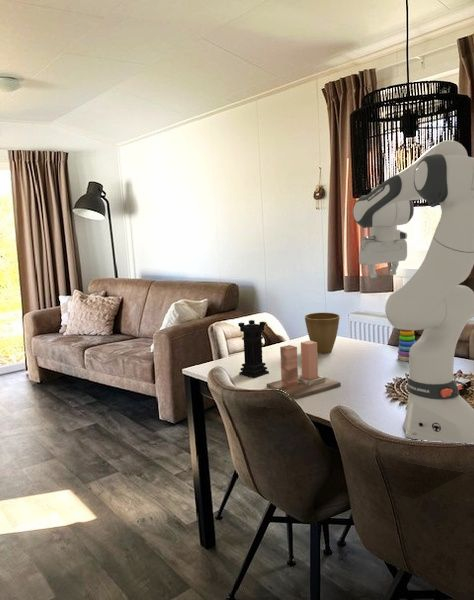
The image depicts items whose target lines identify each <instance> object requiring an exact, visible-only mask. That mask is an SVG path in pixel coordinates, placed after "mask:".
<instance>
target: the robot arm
mask: <svg viewBox="0 0 474 600" xmlns="http://www.w3.org/2000/svg"><path fill="white" fill-rule="evenodd" d="M416 200H417V201H418V200H421V201H422V200H425V201H426V202H427V204H428V206H429V207H431V208H435V207H437V206H438V205H439V206H440V210H441V215H440V218H439V221H438V223H437V226H436V228H435V230H434V233H433V236H432V239H431V242H430V244H429V246H428V249H427V252H426V254H425V257H424V259H423V261H422V263H421V264H420V266H419V267H418V269H417V270H416V272H415V273H414V274H413V275H412V276H411V278H410V279H409V280H408V281H407V282H406V283H405V284H404V285H403V286H402V287H400V288H399V289H398V290H396V291H395V292H393V293H391V294H390V295H389V296H388V298H387V300H386V303H385V305H384V306H385V307H384V308H385V316H386V318H387V319H386V320H388V322H389V324H390V325H391V326H392V327H393V328H395V329H396V330H401V329H402V330H413V331H420V330H423V332H422V334H421V336H419V338H418V339H417V340H415V341H416V342H415V343H414V344H413V345H412V347H411V348H410V352H409V361H408V364H409V365H408V370H409V373H408V374H409V375H408V376H407V383H406V384H407V387H406V390H407V392H408V397H407V399H408V400H407V407H406V412H405V417H404V421H403V423H402V428H403V430H404V431H405V437H406V438H409V439H413V440H415V439H418V440H417V441H419V440H427V441H441V442H459V443H473V444H474V408H473V406H471V404H470V403H468V402H467V401H466V399H464V398H463V396H461V395H460V390H462V389H463V386H464V385H463V384H459V385H457V383H456V379H455V378H454V365H455V364H454V363H455V352H456V348H457V344H458V342H459V339H460V337H461V334H462V332H463V330H464V328H465V326H466V325H467V324H468V322H469V321H471V320H472V319H473V318H474V290H473V289H471V288H470V287H469V286H467V285H462V284H461V283H463V282H464V281H466V280H467V279H468V277H469V276H470V274H471V272H472V270H473V267H474V157H472V156H469V155H468V151H467V149H466V148H465V146H463V144H462V143H460V142H459V141H456V140H450V139H449V140H448V139H447V140H443V141H441V142H438V143H437V144H435V145H433V146H432V147H430V148H429V149H428V150H426V151H425V152H424V153H423V154H421V156H420V157H419V158H417V160H415V162H413V163H411V164H410V165H409V166H408V167H406V168H404V169H403V170H401V171H400V172H398V173H396V174H394V175H392V176H390V177H389V178H387V179H386V180H384V181H383V182H382V183H381V184H379V185H378V186H375V187H373V188H372V189H371V191H370V192H369V193H368V194H367V195H361V196H359V198H358V199H357V200H356V201H355V203H354V204H353V208H352V216H353V220H354V221H355V223H356V224H358V226H360V227H361V228H362V229H367V228H369V236H365V237H363V238H362V240H361V241H360V246H359V253H358V263H359V264H360V265H362V266H367V270H368V271H369V276H370V279H375V278H377V277H378V272H377V271H376V270H375V268H376V265H381V264H388V263H390V265H391V268H390V269H389V270H388V272H389V276H396V275H397V270H398V267H399V265H400V264H399V262H403V261H406V259H407V257H408V242H407V239H408V233H407V232H405V231H402V230H400V229H399V228H398V226H402V225H407V224H408V223H409V222H410V221H411V219H412V218H413V217H414V210H415V208H414V202H413V201H416Z"/></svg>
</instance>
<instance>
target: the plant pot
mask: <svg viewBox="0 0 474 600" xmlns="http://www.w3.org/2000/svg"><path fill="white" fill-rule="evenodd" d="M340 318H341V317H340V314H338V313H334V312H313V313H308V314H305V315H304V320H305V326H306V331H307V334H308V338H309V341H313V342H317V354H319V353H321V354H320V355H326V354H325V353H327V354H330V353H332V351H333V350H334V345H335V343H336V339H337V335H338V330H339V324H340Z"/></svg>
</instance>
